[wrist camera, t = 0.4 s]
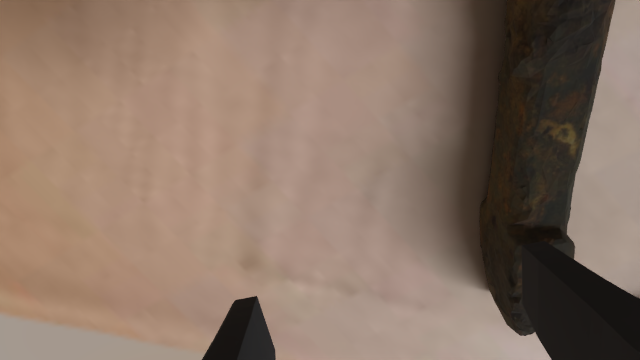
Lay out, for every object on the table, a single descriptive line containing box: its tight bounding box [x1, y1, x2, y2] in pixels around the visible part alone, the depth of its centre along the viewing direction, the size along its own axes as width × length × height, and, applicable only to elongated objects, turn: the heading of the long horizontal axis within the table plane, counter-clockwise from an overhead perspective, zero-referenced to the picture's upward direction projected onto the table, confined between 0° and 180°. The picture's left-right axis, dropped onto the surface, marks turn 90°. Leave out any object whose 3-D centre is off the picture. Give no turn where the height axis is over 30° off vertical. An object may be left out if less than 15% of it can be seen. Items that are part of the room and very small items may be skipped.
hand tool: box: [480, 0, 615, 336], centre depth 20 cm, size 19×4×5 cm, turn 0°
